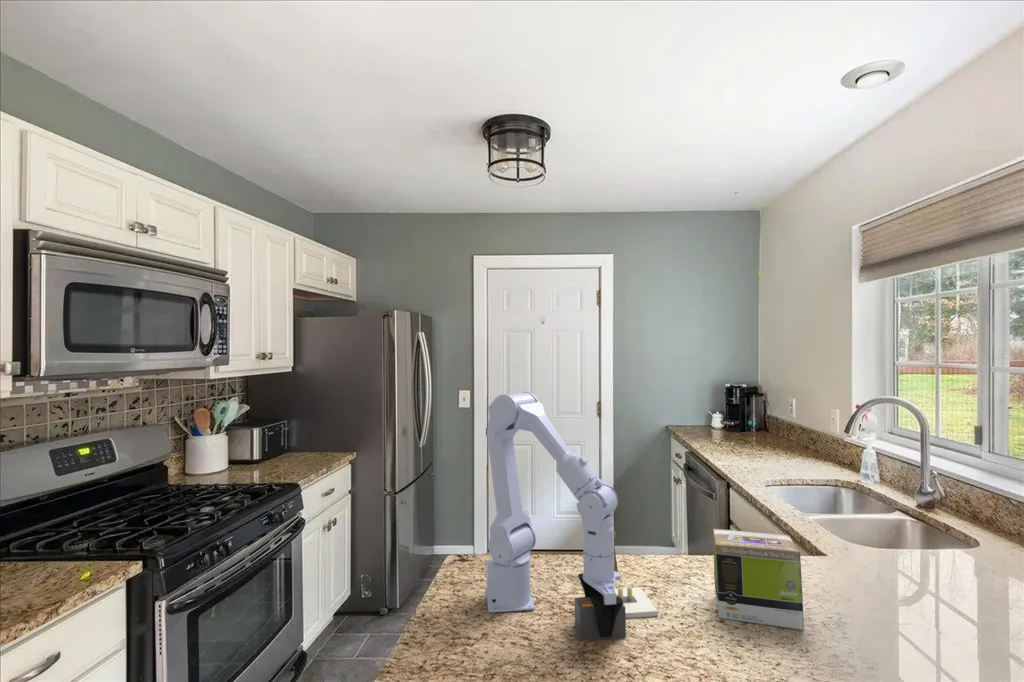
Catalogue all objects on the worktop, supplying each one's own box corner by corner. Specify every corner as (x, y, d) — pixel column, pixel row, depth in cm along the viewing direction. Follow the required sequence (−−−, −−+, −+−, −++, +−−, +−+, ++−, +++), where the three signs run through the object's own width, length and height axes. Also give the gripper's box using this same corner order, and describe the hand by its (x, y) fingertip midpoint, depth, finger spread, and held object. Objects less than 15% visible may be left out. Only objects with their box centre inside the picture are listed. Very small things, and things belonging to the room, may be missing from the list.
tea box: (792, 606, 100) (790, 533, 101) (804, 632, 91) (802, 552, 91) (713, 595, 105) (712, 526, 106) (717, 619, 96) (715, 543, 96)
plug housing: (580, 640, 89) (580, 608, 89) (574, 626, 93) (574, 596, 94) (625, 637, 90) (625, 605, 90) (618, 623, 94) (617, 594, 94)
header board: (599, 620, 96) (598, 602, 96) (586, 595, 106) (586, 578, 106) (658, 616, 97) (657, 598, 97) (639, 591, 107) (639, 575, 107)
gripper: (632, 566, 85) (633, 645, 85) (607, 536, 100) (608, 603, 99) (593, 568, 85) (594, 648, 84) (573, 537, 99) (574, 605, 99)
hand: (599, 624), depth 92 cm, fingers open, 7 cm apart
